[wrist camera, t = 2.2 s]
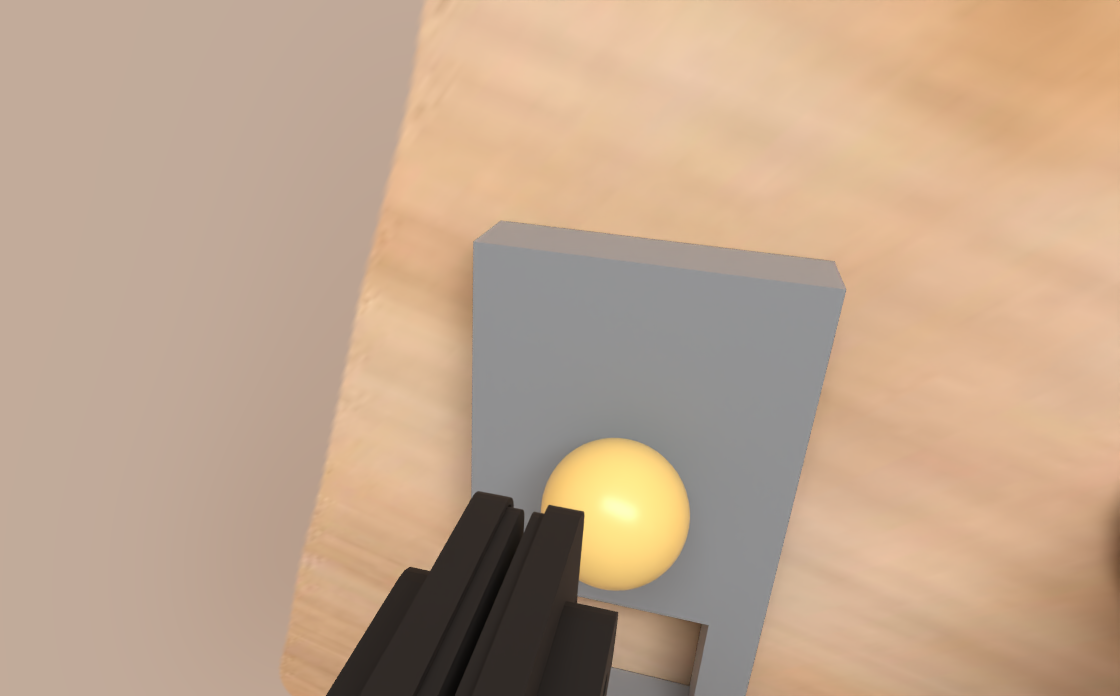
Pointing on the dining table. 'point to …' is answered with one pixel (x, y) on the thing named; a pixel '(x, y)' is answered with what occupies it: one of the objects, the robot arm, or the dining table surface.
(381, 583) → the dining table surface
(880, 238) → the dining table surface
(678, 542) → the ball
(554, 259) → the board
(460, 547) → the robot arm
